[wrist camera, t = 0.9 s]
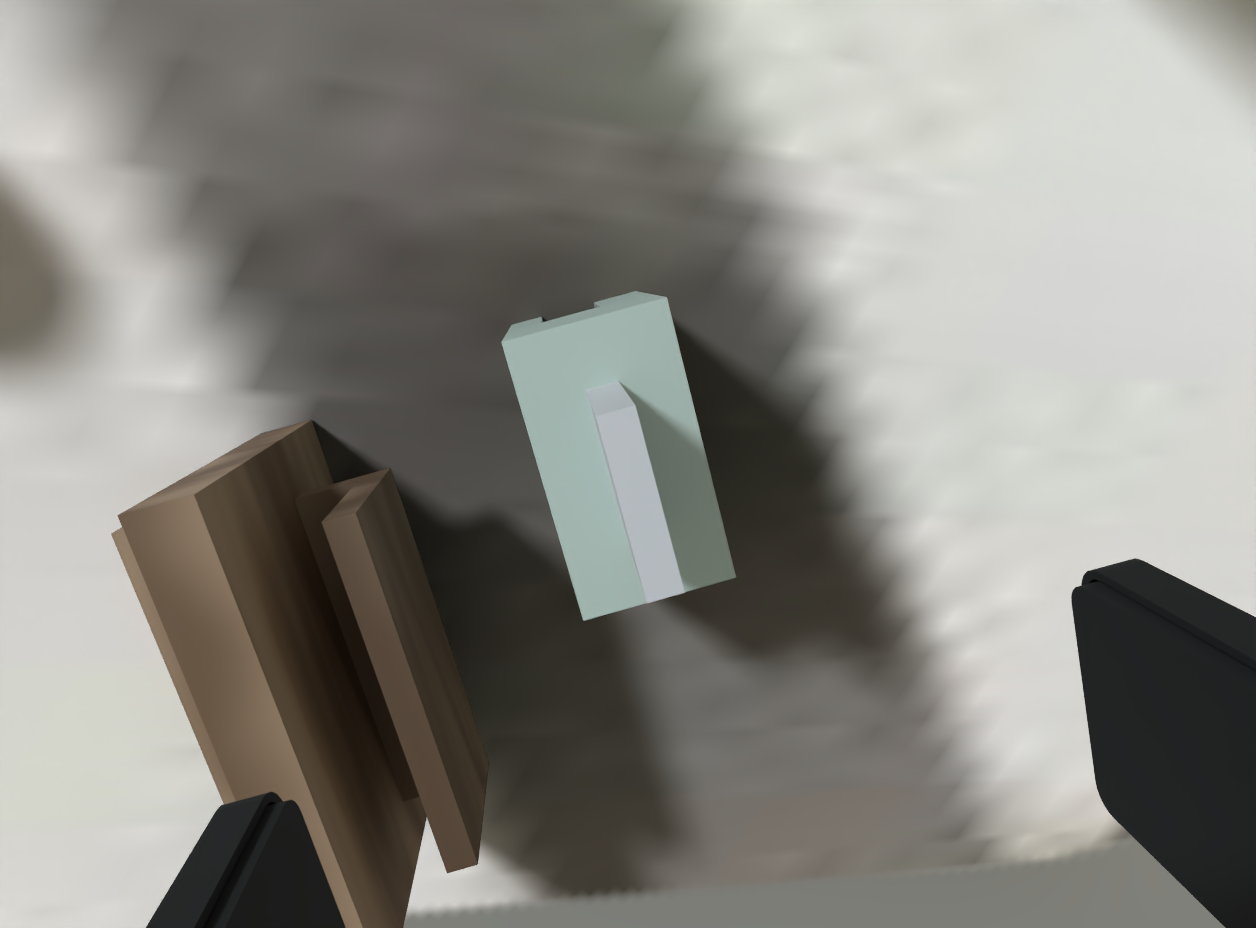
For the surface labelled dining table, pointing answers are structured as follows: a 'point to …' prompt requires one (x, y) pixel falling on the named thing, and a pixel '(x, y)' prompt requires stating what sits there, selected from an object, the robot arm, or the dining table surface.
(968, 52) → the dining table surface
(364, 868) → the brown boxy piece
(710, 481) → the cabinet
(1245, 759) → the robot arm
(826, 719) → the dining table surface
